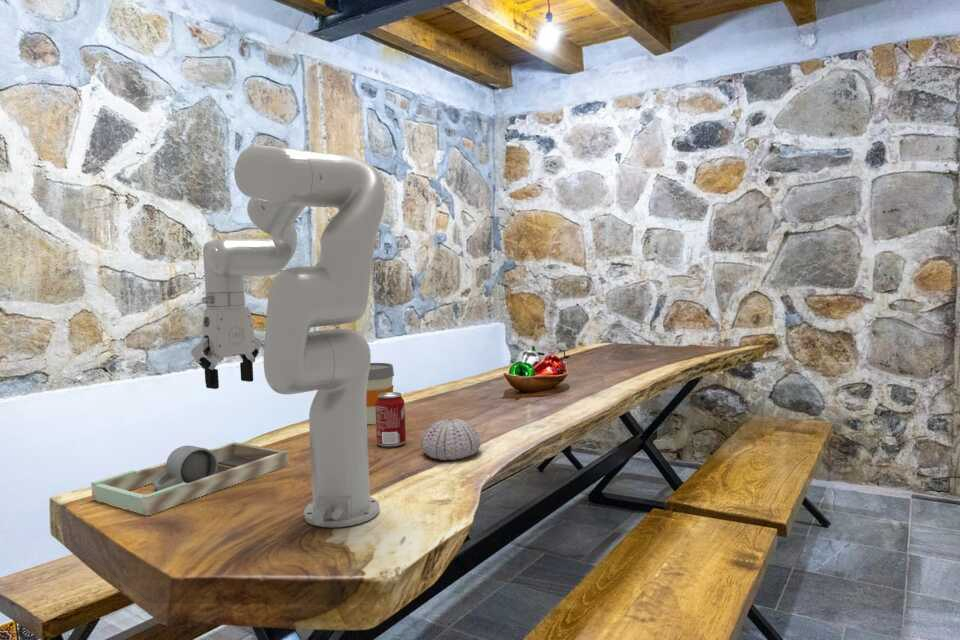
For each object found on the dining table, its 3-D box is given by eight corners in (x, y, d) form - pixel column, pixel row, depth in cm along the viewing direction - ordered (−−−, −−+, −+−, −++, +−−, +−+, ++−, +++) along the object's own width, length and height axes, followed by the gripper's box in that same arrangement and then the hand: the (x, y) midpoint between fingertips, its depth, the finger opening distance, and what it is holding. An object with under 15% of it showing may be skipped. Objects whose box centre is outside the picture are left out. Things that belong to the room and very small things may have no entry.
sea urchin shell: (427, 466, 138) (426, 429, 137) (416, 449, 151) (415, 415, 150) (488, 460, 141) (487, 423, 141) (472, 444, 154) (471, 410, 154)
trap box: (147, 516, 113) (146, 499, 113) (92, 500, 122) (91, 484, 122) (288, 465, 141) (287, 451, 140) (235, 455, 149) (234, 442, 149)
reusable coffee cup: (340, 421, 180) (337, 366, 178) (378, 413, 188) (376, 361, 187) (366, 428, 171) (363, 371, 169) (404, 419, 179) (402, 365, 178)
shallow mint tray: (147, 516, 113) (146, 497, 113) (92, 500, 122) (91, 482, 122) (189, 501, 120) (187, 483, 120) (133, 487, 129) (132, 470, 128)
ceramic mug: (201, 474, 136) (198, 438, 135) (219, 482, 130) (216, 444, 130) (147, 489, 128) (144, 450, 127) (165, 498, 123) (161, 458, 122)
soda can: (400, 449, 151) (398, 397, 150) (372, 448, 152) (370, 397, 151) (409, 441, 158) (407, 391, 157) (382, 440, 159) (381, 391, 158)
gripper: (200, 304, 127) (205, 393, 128) (271, 298, 141) (275, 379, 143) (176, 303, 130) (181, 390, 132) (247, 298, 145) (251, 376, 147)
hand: (230, 384), depth 137 cm, fingers open, 8 cm apart
